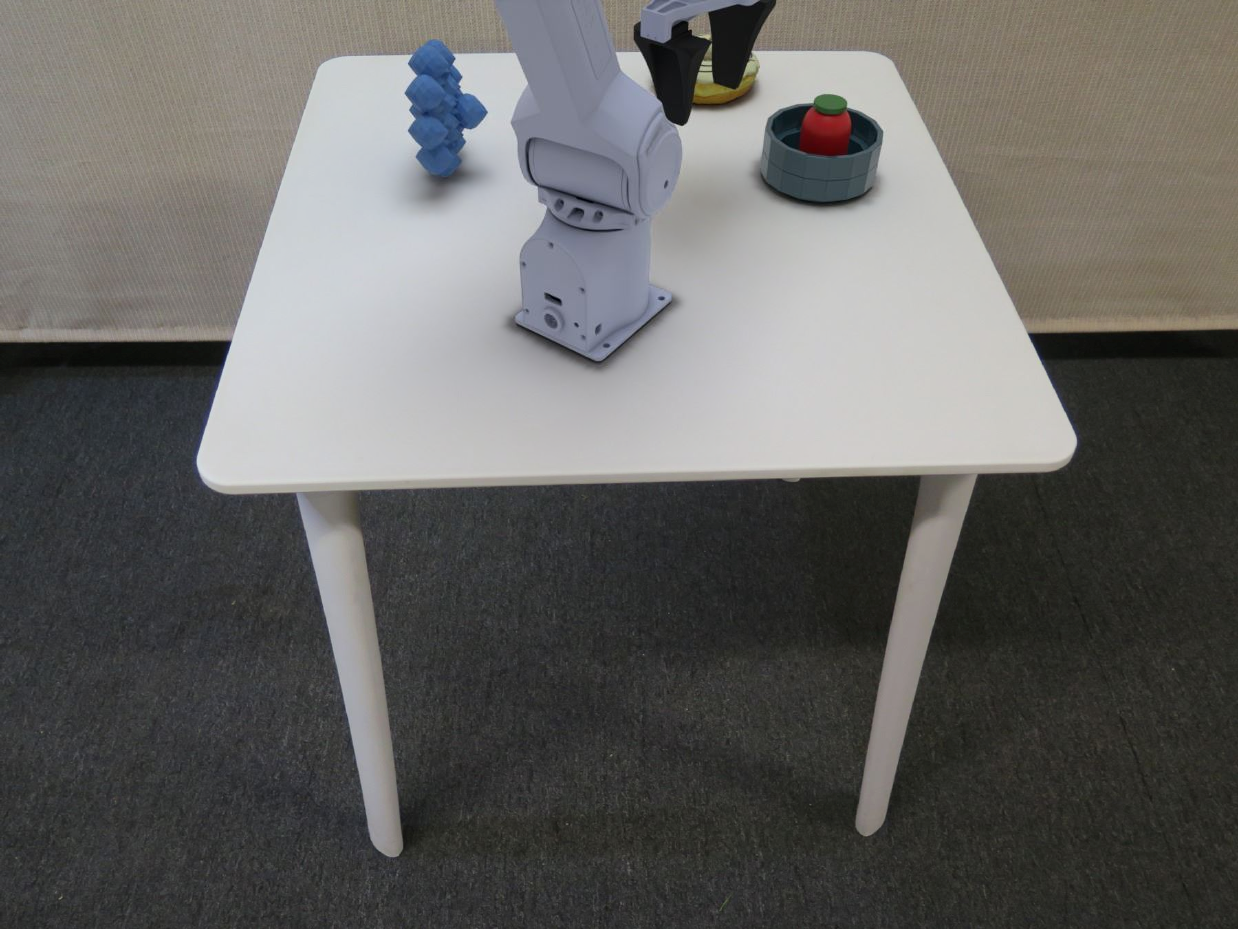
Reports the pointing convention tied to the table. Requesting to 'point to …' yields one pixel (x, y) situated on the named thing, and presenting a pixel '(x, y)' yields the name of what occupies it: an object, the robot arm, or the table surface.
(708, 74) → the decorated donut
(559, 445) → the table surface
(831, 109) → the red jar green lid
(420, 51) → the grapes
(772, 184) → the dessert bowl
